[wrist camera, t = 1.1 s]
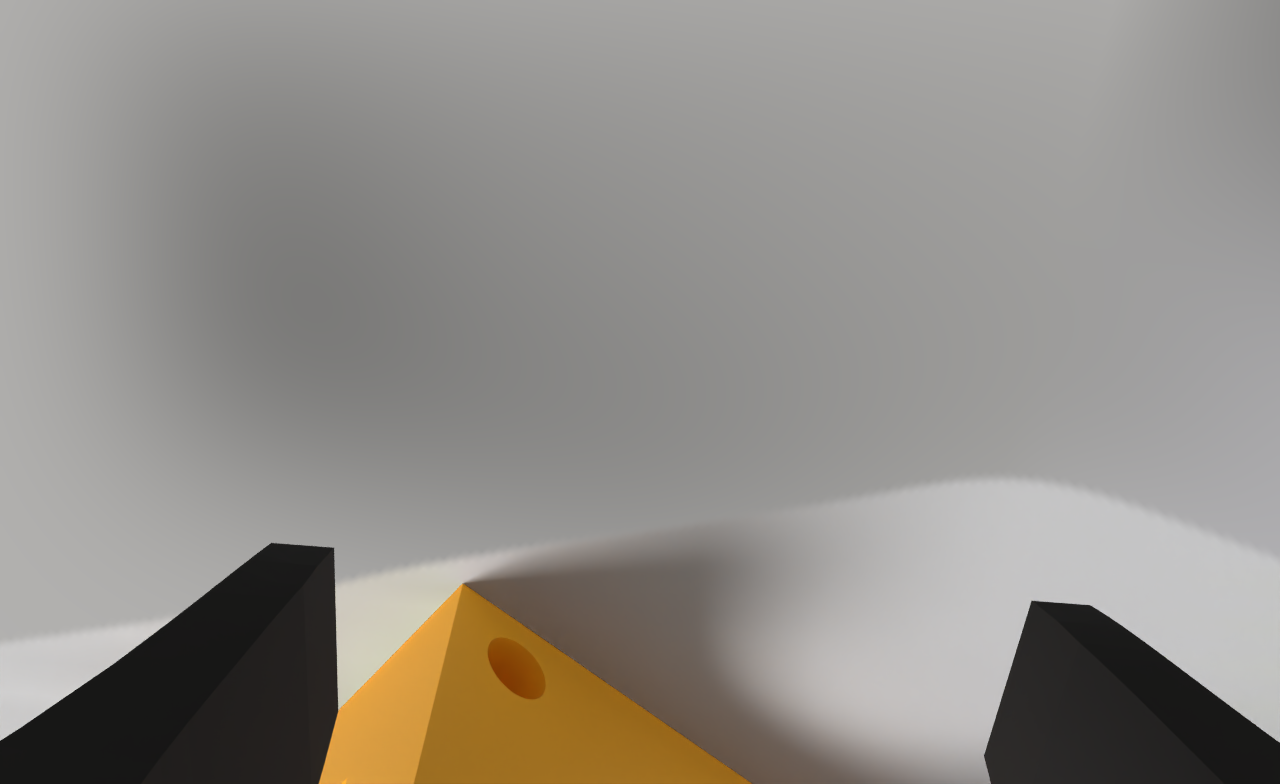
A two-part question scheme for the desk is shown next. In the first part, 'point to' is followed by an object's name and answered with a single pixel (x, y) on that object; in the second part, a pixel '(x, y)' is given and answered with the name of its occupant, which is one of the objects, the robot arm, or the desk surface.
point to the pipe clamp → (501, 715)
